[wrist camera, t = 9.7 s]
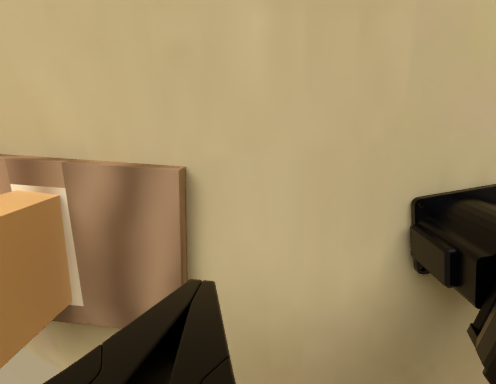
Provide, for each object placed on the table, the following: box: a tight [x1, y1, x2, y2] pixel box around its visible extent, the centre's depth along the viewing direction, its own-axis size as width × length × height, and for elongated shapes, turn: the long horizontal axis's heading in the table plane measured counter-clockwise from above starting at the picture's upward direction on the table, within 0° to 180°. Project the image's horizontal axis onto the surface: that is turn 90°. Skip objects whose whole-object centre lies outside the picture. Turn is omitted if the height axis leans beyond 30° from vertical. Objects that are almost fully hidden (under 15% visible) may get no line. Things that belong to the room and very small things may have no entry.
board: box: [0, 154, 187, 328], centre depth 22 cm, size 21×15×2 cm
